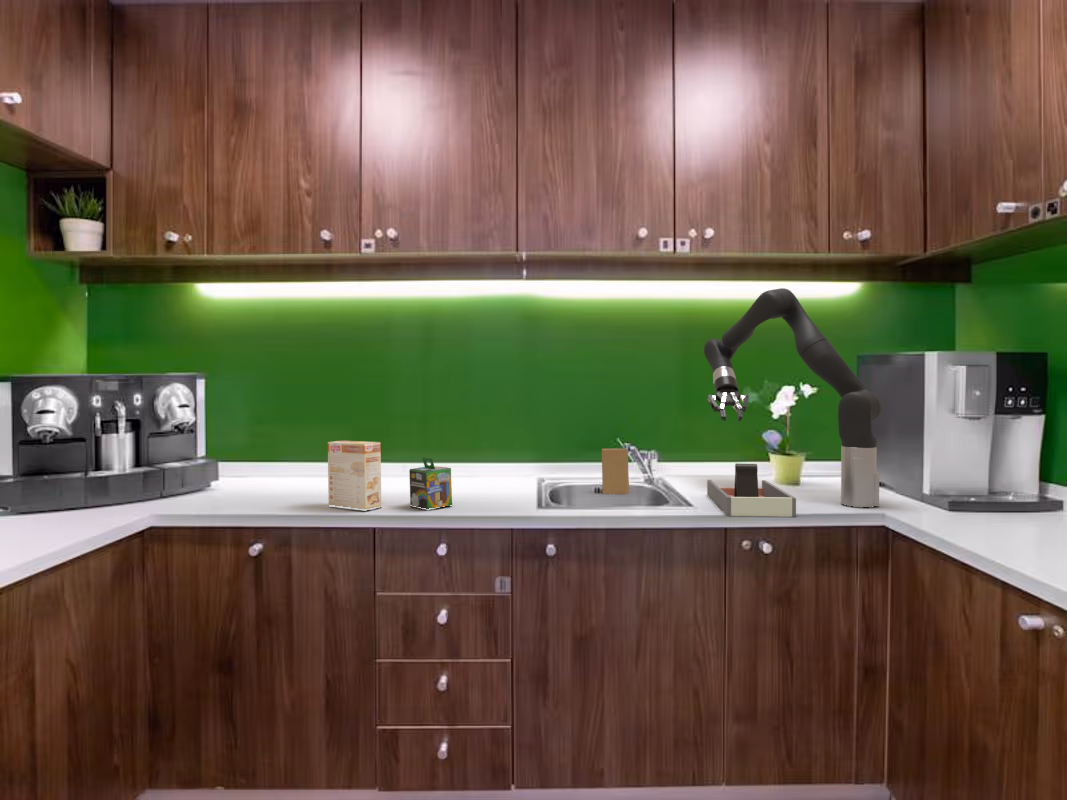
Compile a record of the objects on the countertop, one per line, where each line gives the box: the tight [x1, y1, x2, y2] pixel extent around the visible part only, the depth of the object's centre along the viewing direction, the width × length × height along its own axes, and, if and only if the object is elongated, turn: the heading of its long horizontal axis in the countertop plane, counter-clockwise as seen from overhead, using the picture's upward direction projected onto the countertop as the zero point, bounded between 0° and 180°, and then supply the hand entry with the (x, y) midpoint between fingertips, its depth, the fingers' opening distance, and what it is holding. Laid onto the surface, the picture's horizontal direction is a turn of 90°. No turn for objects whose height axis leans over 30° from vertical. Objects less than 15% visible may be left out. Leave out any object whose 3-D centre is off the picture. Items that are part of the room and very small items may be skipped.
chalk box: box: [409, 456, 453, 509], centre depth 190 cm, size 9×9×15 cm
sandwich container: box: [601, 448, 630, 495], centre depth 218 cm, size 9×15×15 cm, turn 169°
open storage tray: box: [706, 479, 797, 518], centre depth 190 cm, size 18×32×5 cm, turn 174°
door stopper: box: [733, 463, 759, 497], centre depth 192 cm, size 9×6×12 cm, turn 170°
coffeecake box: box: [327, 440, 382, 509], centre depth 189 cm, size 15×7×20 cm, turn 59°
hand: (732, 419), depth 211 cm, fingers open, 4 cm apart
